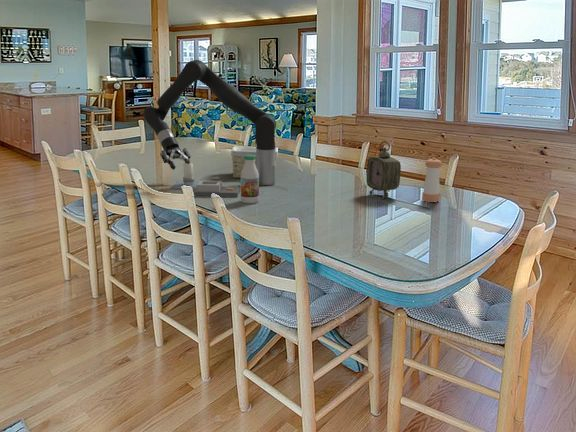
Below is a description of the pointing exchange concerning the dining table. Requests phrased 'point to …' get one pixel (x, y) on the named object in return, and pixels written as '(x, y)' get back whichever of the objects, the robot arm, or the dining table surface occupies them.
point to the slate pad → (180, 183)
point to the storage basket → (239, 155)
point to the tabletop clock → (383, 172)
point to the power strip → (215, 189)
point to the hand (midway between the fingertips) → (181, 167)
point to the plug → (188, 173)
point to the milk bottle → (249, 181)
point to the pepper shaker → (432, 180)
